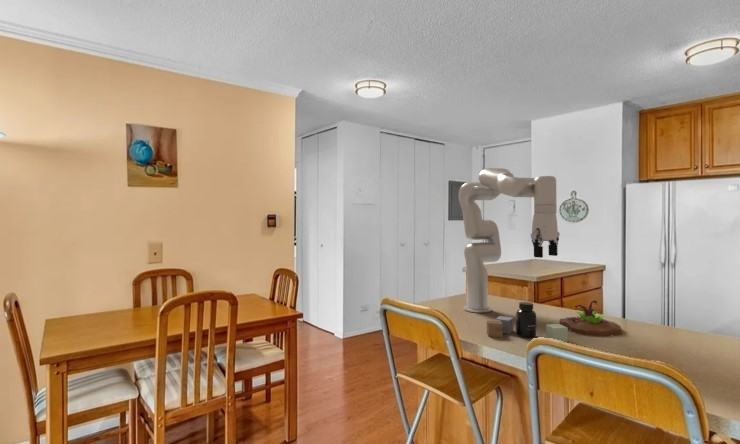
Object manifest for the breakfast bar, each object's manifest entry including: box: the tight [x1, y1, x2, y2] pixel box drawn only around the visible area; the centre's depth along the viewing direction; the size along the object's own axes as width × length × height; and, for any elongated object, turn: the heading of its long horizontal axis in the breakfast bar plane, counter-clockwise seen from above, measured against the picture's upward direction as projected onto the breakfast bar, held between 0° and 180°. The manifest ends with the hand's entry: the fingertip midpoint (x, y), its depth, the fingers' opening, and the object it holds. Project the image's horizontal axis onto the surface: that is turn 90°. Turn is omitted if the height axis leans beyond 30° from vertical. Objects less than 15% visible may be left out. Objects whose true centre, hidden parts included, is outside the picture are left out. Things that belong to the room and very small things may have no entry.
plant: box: [558, 299, 623, 337], centre depth 151 cm, size 20×20×11 cm
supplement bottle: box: [515, 301, 537, 339], centre depth 143 cm, size 7×7×12 cm
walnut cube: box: [486, 319, 504, 338], centre depth 145 cm, size 5×5×5 cm
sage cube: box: [545, 323, 569, 343], centre depth 138 cm, size 5×5×5 cm
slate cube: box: [495, 315, 514, 335], centre depth 149 cm, size 5×5×5 cm
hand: (545, 256), depth 143 cm, fingers open, 9 cm apart
